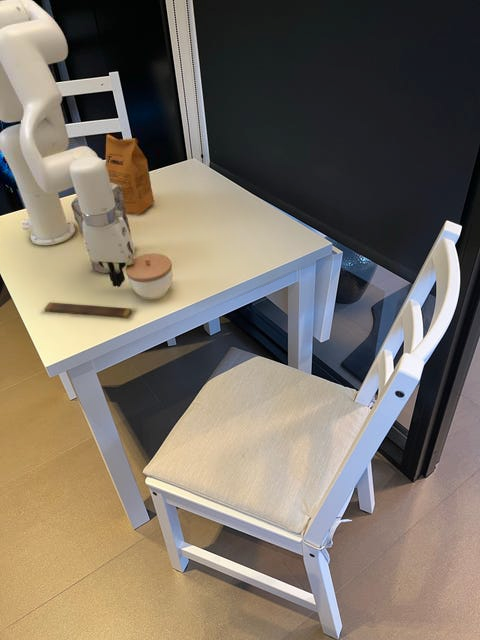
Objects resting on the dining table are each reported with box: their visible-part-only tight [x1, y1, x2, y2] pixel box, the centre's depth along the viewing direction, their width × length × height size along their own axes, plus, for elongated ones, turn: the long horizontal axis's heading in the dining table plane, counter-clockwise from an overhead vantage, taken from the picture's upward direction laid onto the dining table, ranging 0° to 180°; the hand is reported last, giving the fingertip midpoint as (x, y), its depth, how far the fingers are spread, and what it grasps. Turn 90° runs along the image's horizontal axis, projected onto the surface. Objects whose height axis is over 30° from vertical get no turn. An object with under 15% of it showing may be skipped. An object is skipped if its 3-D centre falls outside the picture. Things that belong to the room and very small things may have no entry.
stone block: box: [70, 183, 132, 274], centre depth 132 cm, size 13×7×20 cm, turn 161°
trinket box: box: [125, 252, 174, 301], centre depth 123 cm, size 11×11×9 cm
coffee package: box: [105, 133, 155, 215], centre depth 155 cm, size 10×12×22 cm
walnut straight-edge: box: [44, 302, 133, 319], centre depth 121 cm, size 21×2×1 cm, turn 78°
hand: (118, 283), depth 125 cm, fingers closed
